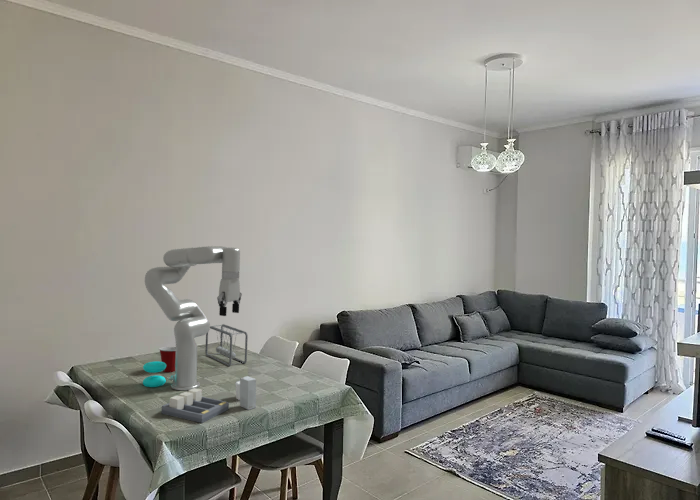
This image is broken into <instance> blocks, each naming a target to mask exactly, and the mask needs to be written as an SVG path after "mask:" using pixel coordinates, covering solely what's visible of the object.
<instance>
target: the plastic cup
mask: <svg viewBox="0 0 700 500" xmlns="http://www.w3.org/2000/svg"><path fill="white" fill-rule="evenodd" d="M158 350H159V353H160V358H161V361H160V362H164V363H165V364H166V368H165V369H164V370H163V371H162V372H163V373H175V359H176V346H164V347H159V348H158Z"/></svg>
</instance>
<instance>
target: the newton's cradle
mask: <svg viewBox="0 0 700 500" xmlns="http://www.w3.org/2000/svg"><path fill="white" fill-rule="evenodd" d="M226 329H227V330H226ZM210 330H214V331H216V332H218V333H220V335H219V337H220V338H219V337H218V336H217V340H219V339H220V342H219V343H218V344H217V345H218V346H217V347H216V348H215V351H216V353H211V354H210V353H208V348H209V346H208V344H209V343H208V342H209V332H208V333H207V334H205V352H204V353H205V355H206V357H208V358H210V359H211V360H214V361H217V362H218V363H221V364H223V365H225V366H227V367H231V366H234V365H238V364H244V363H245V364H247V361H248V338H249V337H248V332H246V331H245V330H242V329H238V328H236V327H233V326H229V325H227V324H225V323H223V324H220V325H219V324H218V325H217V324H216V326H215V325H210ZM231 331H232V332H231ZM240 334H245V341H244V342H245V343H244V345H245V346H244V360H242V359H240V358H238V357H236V353H235V351H234V348H235V347H233V346H235V345H236V344H235V343H236V342H234V344H233V335H235V336H237V335H240ZM224 335H225V336H224ZM227 337H228V338H227ZM226 339H227V340H229V342H227V343H226V345H225V342H226V341H225V340H226ZM234 339H235V340H234V341H236V340H237V337H235V338H234ZM225 346H229V348H228V347H225ZM213 355H223V356H225V357H226V358H229V359H228V362H229V363H228V362H226V361H224V360H221V359H219V358H217V357H216V356H213ZM232 360H236V361H237V362H236V363H232V362H233V361H232ZM239 361H240V362H239ZM241 362H242V363H241Z"/></svg>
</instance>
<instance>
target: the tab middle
mask: <svg viewBox="0 0 700 500" xmlns="http://www.w3.org/2000/svg"><path fill="white" fill-rule="evenodd" d="M178 396H181V397H184V404H187V405H192V404H193V393H189V392H188V391H184V392H181V393H179V394H178Z"/></svg>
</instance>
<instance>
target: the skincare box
mask: <svg viewBox="0 0 700 500" xmlns="http://www.w3.org/2000/svg"><path fill="white" fill-rule="evenodd" d="M239 381H240V400H239V406H240V407H242V408H243V409H246V410H253V409H256V407H257V379H256V378H254V377H251V376H248V375H247V376H243V377H239Z"/></svg>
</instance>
